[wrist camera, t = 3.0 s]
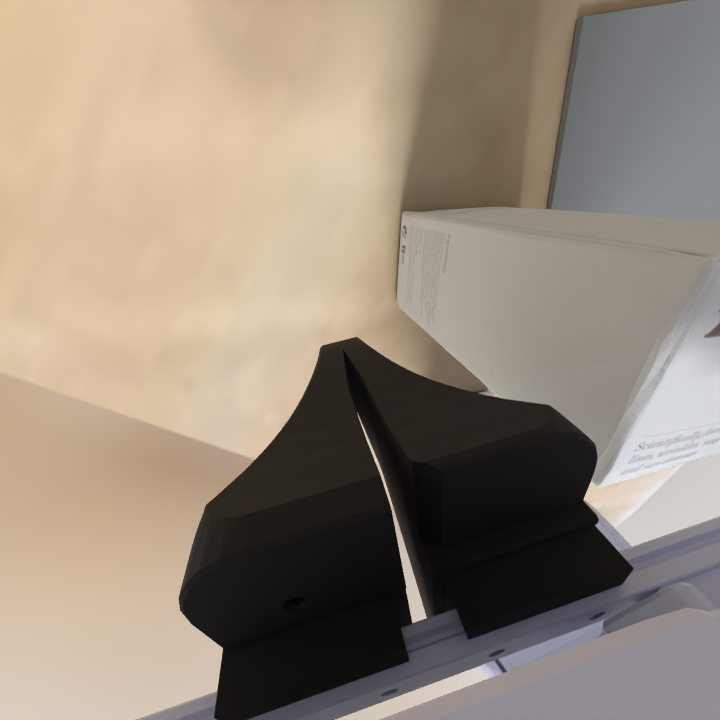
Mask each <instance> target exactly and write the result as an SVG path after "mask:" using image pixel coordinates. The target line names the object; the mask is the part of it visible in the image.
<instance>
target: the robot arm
mask: <svg viewBox="0 0 720 720" xmlns="http://www.w3.org/2000/svg"><path fill="white" fill-rule="evenodd" d="M357 412H358V414H357ZM358 415H359V417H360V419H361V422H362V424H363V426H364V429H365V431H366V433H367V436H368V438H369V440H370V443H371V445H372V448H373V450H374V452H375V455H376V457H377V459H378V462H379V464H380V467H381V470H382V472H383V475H384V478H385V482H386V485H387V488H388V491H389V494H390V497H391V501H392V504H393V507H394V510H395V514H396V517H397V520H398V523H399V526H400V530H401V533H402V536H403V540H404V543H405V546H406V549H407V553H408V556H409V559H410V562H411V566H412V569H413V573H414V576H415V579H416V582H417V586H418V589H419V593H420V596H421V599H422V603H423V606H424V609H425V613H426V616H427V619H424V620H421V621H418V622H415V623H412V620H411V615H410V609H409V604H408V599H407V594H406V589H405V588H406V584H405V579H404V574H403V568H402V563H401V558H400V553H399V547H398V543H397V537H396V532H395V526H394V522H393V516H392V511H391V507H390V503H389V500H388V497H387V494H386V491H385V488H384V485H383V482H382V479H381V476H380V473H379V471H378V468H377V466H376V463H375V461H374V458H373V455H372V453H371V450H370V448H369V445H368V443H367V440H366V437H365V434H364V432H363V429H362V426H361V423H360V421H359V418H358ZM597 460H598V454H597V449H596V445H595V443H594V442H593V441H592V440H591V439H590V438H589V437H588V436H587V435H586V434H585V433H583V432H582V431H581V430H580V429H579V428H577V427H576V426H575V425H574V424H573V423H571V422H570V421H569V420H568V419H567V418H565V417H564V416H563V415H562V414H560V413H559V412H558V411H557V410H555V409H554V408H553V407H551V406H550V405H546V404H539V403H532V402H524V401H517V400H510V399H503V398H498V397H493V396H491V394H490V393H489V392H487V391H484V392H480V393H474V392H470V391H466V390H462V389H458V388H455V387H452V386H448V385H445V384H442V383H439V382H436V381H433V380H430V379H428V378H426V377H423V376H421V375H418V374H416V373H413V372H411V371H409V370H407V369H405V368H403V367H401V366H399V365H398V364H396V363H394V362H392V361H391V360H389V359H387V358H386V357H384V356H383V355H381V354H380V353H378V352H377V351H375V350H374V349H372V348H371V347H370V346H368V345H367V344H366V343H364V342H363V341H362V340H360V339H359V338H357V337H355V338H351V339H347V340H343V341H339V342H335V343H331V344H327V345H323V346H322V347H321V348H320V352H319V357H318V361H317V364H316V367H315V370H314V372H313V375H312V378H311V380H310V382H309V384H308V387H307V389H306V391H305V393H304V395H303V397H302V399H301V401H300V402H299V404H298V406H297V408H296V409H295V411H294V412H293V414H292V416H291V417H290V419H289V420H288V421H287V423H286V424H285V426H284V427H283V428H282V430H281V431H280V432H279V433H278V435H277V436H276V437H275V439H274V440H273V441H272V442H271V443H270V444H269V446H268V447H267V448H266V449H265V450H264V451H263V452H262V453H261V454H260V455H259V456H258V457H257V459H256V460H255V461H254V462H253V463H252V464H251V465H250V466H249V467H248V468H247V469H246V470H245V471H244V472H243V473H242V474H241V475H239V476H238V477H237V478H236V479H235V480H234V481H233V482H232V483H230V484H229V485H228V486H227V487H226V488H225V489H224V490H223V491H222V492H221V493H219V494H218V495H217V496H216V497H215V498H214V499H213V500H211V501H210V502H209V503H208V504H207V505H206V507H205V510H204V513H203V516H202V518H201V521H200V523H199V526H198V529H197V532H196V535H195V538H194V542H193V545H192V549H191V553H190V556H189V561H188V564H187V568H186V572H185V576H184V579H183V583H182V587H181V591H180V595H179V605H180V611H181V612H182V613H183V614H184V615H185V617H186V618H187V619H188V620H189V621H190V623H191V624H192V625H193V626H195V627H196V628H197V629H199V630H200V631H201V632H203V633H204V634H205V635H207V636H208V637H209V638H211V639H212V640H213V641H214V642H216V643H217V644H219V645H220V646H221V647H223V654H222V662H221V669H220V677H219V684H218V691H217V692H214V693H211V694H208V695H206V696H203V697H200V698H197V699H194V700H191V701H189V702H185V703H183V704H180V705H177V706H174V707H171V708H168V709H165V710H163V711H160V712H157V713H154V714H151V715H148V716H145V717H143V718H140V719H137V720H334V719H337V718H340V717H343V716H346V715H348V714H351V713H353V712H356V711H359V710H362V709H365V708H367V707H370V706H373V705H375V704H378V703H381V702H383V701H386V700H389V699H392V698H394V697H397V696H400V695H402V694H405V693H408V692H410V691H413V690H416V689H419V688H421V687H424V686H426V685H429V684H432V683H435V682H437V681H440V680H443V679H446V678H448V677H451V676H454V675H456V674H459V673H461V672H464V671H467V670H470V669H472V668H475V667H478V666H481V668H482V669H483V671H484V672H485V673H486V674H487V676H488V677H489V679H487V680H484V681H481V682H479V683H476V684H473V685H471V686H468V687H465V688H463V689H460V690H457V691H455V692H452V693H449V694H447V695H444V696H441V697H439V698H436V699H433V700H431V701H428V702H425V703H423V704H420V705H417V706H415V707H412V708H409V709H407V710H405V711H402V712H399V713H396V714H394V715H391V716H388V717H386V718H383V719H381V720H720V517H717V518H714V519H711V520H708V521H705V522H702V523H700V524H697V525H694V526H691V527H688V528H685V529H682V530H679V531H677V532H674V533H671V534H668V535H665V536H662V537H659V538H656V539H654V540H651V541H648V542H645V543H642V544H639V545H636V546H634V547H631V546H630V544H629V543H628V542H627V541H626V540H625V539H624V538H623V537H622V536H621V535H620V534H619V532H617V530H616V529H615V528H614V527H613V526H612V525H611V524H610V523H609V522H608V521H607V520H606V519H605V518H604V517H603V516H602V515H601V514H600V513H599V512H598V511H597V510H596V509H595V508H594V507H592V506H591V505H590V504H589V503H588V502H586V501H585V500H584V496H585V494H586V492H587V489H588V487H589V484H590V482H591V479H592V477H593V474H594V472H595V468H596V464H597Z"/></svg>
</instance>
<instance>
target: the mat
mask: <svg viewBox="0 0 720 720" xmlns="http://www.w3.org/2000/svg"><path fill="white" fill-rule="evenodd" d="M547 209H551V210H568V211H584V212H598V213H612V214H626V215H639V216H653V217H666V218H680V219H693V220H707V221H720V0H688V1H681V2H675V3H668V4H662V5H655V6H648V7H642V8H635V9H629V10H622V11H615V12H609V13H602V14H596V15H589V16H584V17H582V18H580V19H578V20H577V23H576V30H575V36H574V42H573V48H572V55H571V61H570V67H569V73H568V79H567V86H566V92H565V98H564V104H563V111H562V117H561V123H560V129H559V136H558V142H557V148H556V154H555V160H554V167H553V173H552V179H551V185H550V192H549V198H548V204H547Z"/></svg>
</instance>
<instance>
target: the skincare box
mask: <svg viewBox="0 0 720 720" xmlns="http://www.w3.org/2000/svg"><path fill="white" fill-rule="evenodd" d="M396 302H397V306H398V307H399V308H400V309H401V310H402V311H404V312H405V313H406V314H407V315H408V316H409V317H410V318H411V319H412V320H413V321H415V322H416V323H417V324H418V325H419V326H420V327H421V328H422V329H424V330H425V331H426V332H427V333H428V334H429V335H430V336H431V337H432V338H434V339H435V340H436V341H437V342H438V343H439V344H440V345H441V346H442V347H443V348H445V349H446V350H447V351H448V352H449V353H450V354H451V355H452V356H454V357H455V358H456V359H457V360H458V361H459V362H460V363H462V364H463V365H464V366H465V367H466V368H467V369H468V370H469V371H470V372H471V373H473V374H474V375H475V376H476V377H477V378H478V379H479V380H480V381H482V382H483V383H484V384H485V385H486V386H487V387H488V388H489V389H490V390H492V391H493V392H494V393H495V394H496V395H497V396H498V397H500V398H503V399H510V400H517V401H524V402H532V403H539V404H546V405H550V406H551V407H553V408H554V409H555V410H557V411H558V412H559V413H560V414H562V415H563V416H564V417H565V418H567V419H568V420H569V421H570V422H571V423H573V424H574V425H575V426H576V427H577V428H579V429H580V430H581V431H582V432H583V433H585V434H586V435H587V436H588V437H589V438H590V439H591V440H592V441H593V442H594V443H595V445H596V449H597V454H598V460H597V464H596V468H595V472H594V474H593V477H592V479H591V481H592V482H593V483H594V484H595V486H597V487H603V486H606V485H610V484H613V483H617V482H620V481H624V480H628V479H631V478H635V477H638V476H642V475H645V474H649V473H652V472H655V471H658V470H662V469H665V468H668V467H671V466H675V465H679V464H683V463H686V462H690V461H694V460H697V459H701V458H704V457H707V456H712V455H715V454H719V453H720V221H707V220H693V219H680V218H666V217H653V216H639V215H626V214H612V213H598V212H584V211H568V210H551V209H533V208H516V207H479V208H463V209H446V210H435V211H427V212H414V211H404V212H403V213H402V221H401V239H400V254H399V267H398V282H397V296H396Z"/></svg>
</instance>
